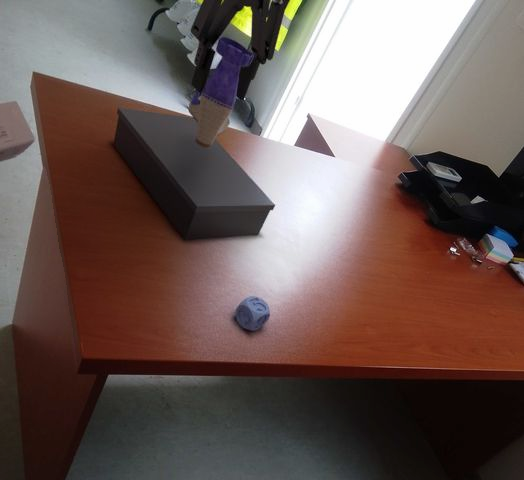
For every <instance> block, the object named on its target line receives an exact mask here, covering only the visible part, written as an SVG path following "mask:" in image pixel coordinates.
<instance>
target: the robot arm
mask: <svg viewBox="0 0 524 480" xmlns="http://www.w3.org/2000/svg"><path fill="white" fill-rule="evenodd" d="M290 1H291V0H202V2H201V4H200V7H199V9H198V11H197V14H196V15H195V18H194V21H193V22H192V25H191V27H190V34H191V35H192V36H193V37H195V39H196V40H197V41H198V46H197V49H196V53H195V56H194V60H193V63H194V65H195V69H194V72H193V76H192V79H191V83H190V85H191V86H192V87H193V88H194V89H195V90H196V91H198V92H199V93H202V92H203V89H204V87H205V84H206V82H207V81H208V79H209V75H210V71H211V69H212V66H213V63H214V62H213V61H214V58H215V55H216V50H214V48H213V47H214V46H215V44H216V43H217V42H218V41H219V38H220V37H222V35H223V33H224V32H225V30H226V29H227V27H228V26H229V25H230V24H231V22H232V20H233V19H234V18H235V16H236V15H237V14H238V13H239V12H241V11H243V9H244V8H250V11H251V28H250V29H251V33H250V36H251V37H250V49H251V50H252V53H253V56H254V57H253V56H252V57H253V60H252V58H251V60H252V62H251V60H250V62H251V64H250V65H249V64H248V65H249V66H248V65H247V67H244V68H243V67H242V66H240V69H239V78H238V86H237V93H236V98H238V100H240V101H245V98H246V96H247V93H248V90H249V87H250V84H251V83H252V81H254V80H255V78H256V75H257V72H258V70H259V67H260V65H262V66H264V65H265V64H266V63H267V61H272V60H273V58H274V56H275V55H274V54H275V51H276V46H277V43H278V39H279V35H280V31H281V28H282V24H283V19H284V16H285V11H286V9H287V8H288V6H289V4H290ZM250 62H249V63H250Z"/></svg>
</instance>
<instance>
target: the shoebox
mask: <svg viewBox="0 0 524 480" xmlns="http://www.w3.org/2000/svg"><path fill="white" fill-rule="evenodd" d="M116 114H117V116H118V117H117V123H116V127H115V128H116V129H115V133H114V137H113V141H112V142H113V143H112V144H113V146H114V147H115V148H116V150H117V151H118V153H119V154H120V155H121V157H123V159H124V160H125V163H127V165H128V166H129V167H130V168H131V170H132V172H134V174H135V176H137V178H138V179H139V181H140V182H141V184H143V186H144V187H145V188H146V190H147V191H148V192H149V194H150V195H151V197H152V198H153V199H154V201H155V202H156V203H157V204H158V205H159V207H160V208H161V210H162V211H163V212H164V214H165V215H166V217H167V218H168V220H170V222H171V223H172V224H173V226H174V227H175V229H176V230H177V232H179V233H180V235H181V236H182V238H183V239H184V240H185V241H186V240H187V241H188V240H200V239H215V238H216V239H217V238H229V237H242V236H243V237H244V236H256V235H259V234H260V232H261V230H262V228H263V226H264V224H265V222H266V220H267V218H268V216H269V214H270V212H271V211H273V210H274V209H275V207H276V204H275V203H274V202H273V201H272V200H271V199H270V198H269V196H267V194H266V193H265V192H264V191H263V190H262V188H260V187H259V185H258V184H257V183H256V182H255V181H254V180H253V178H251V176H250V175H249V174H248V173H247V172H246V171H245V169H244V168H243V167H242V166H240V164H239V163H238V162H237V161H236V159H234V157H232V155H231V154H230V153H229V152H228V151H227V150H226V148H224V146H222V144H221V143H220V142H219V141H218V140H217V138H215V139H214V141H213V143H212V145H211V146H210V147H208V148H206V147H203V146H200V145H198V144H197V143H196V137H197V136H196V134H197V128H198V122H197V121H196V120H195V119H194V118H193V117H191V116H184V115H175V114H169V113H163V112H161V113H160V112H155V111H154V112H153V111H147V110H139V109H131V108H125V107H117V111H116Z"/></svg>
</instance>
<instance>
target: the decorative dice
mask: <svg viewBox="0 0 524 480" xmlns="http://www.w3.org/2000/svg"><path fill="white" fill-rule="evenodd" d="M270 317H271V311H270V307H269V305H268V303H267V302H266V301H265V300H264V299H263V298H261V297H259V296H255V295H251V296H248V297H246V298H244V299H243V300H242V301H241V302H240V303H239V304H238V305H237V307H236V309H235V318H236V321H237V323H238V325H239V326H240V327H242V328H243V329H245V330H247V331H251V332H253V331H257V330H259V329H261V328H262V327H263V326H264V325H265V324H266V323H267V322H268V321H269V319H270Z"/></svg>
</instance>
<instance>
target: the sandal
mask: <svg viewBox="0 0 524 480" xmlns="http://www.w3.org/2000/svg"><path fill="white" fill-rule="evenodd" d="M215 52H216V53H217V54H218V55H219V56H221V59H220V60H219V61H218V64H217V65H216V67H215V68H214V70H213V71H212V73H211V75H210V77H208V79H207V81H206V84H205V87H204V89H203V92H202V93H199V92H198V91H197V90H196V91H195V92H194V95H193V96H192V98H191V100H190V101H189V104H188V113H189V114H190V115H191V116H192V118H194V119H195V120H196V121H197V122H198V128H197V134H196V136H197V137H196V143H197V144H198V145H200V146H203V147H206V148H208V147H210V146H211V145H212V143H213V141H214V139H217V137H218V136H220V135H221V134H223V133H225V132H226V131H227V129H228V127H229V125H230V124H231V122H230V115H231V114H232V112H233V110H234V106H235V103H236V98H237V96H236V93H237V86H238V78H239V72H240V69H241V66H242V67H243V68H244V67H247V65H248V64H249V65H250V64H251V62H252V60H253V57H254V56H253V53H252V50H251V48H250V49H247V48H246V47H245V46H244V45H242V44H241V43H239V42H238V41H236V40H234V39H232V38H229V37H227V36H220V37H219V39H218V40H217V44H216V49H215ZM252 56H253V57H252ZM251 58H252V60H251ZM250 60H251V62H250ZM249 62H250V63H249ZM249 65H248V66H249Z"/></svg>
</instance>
